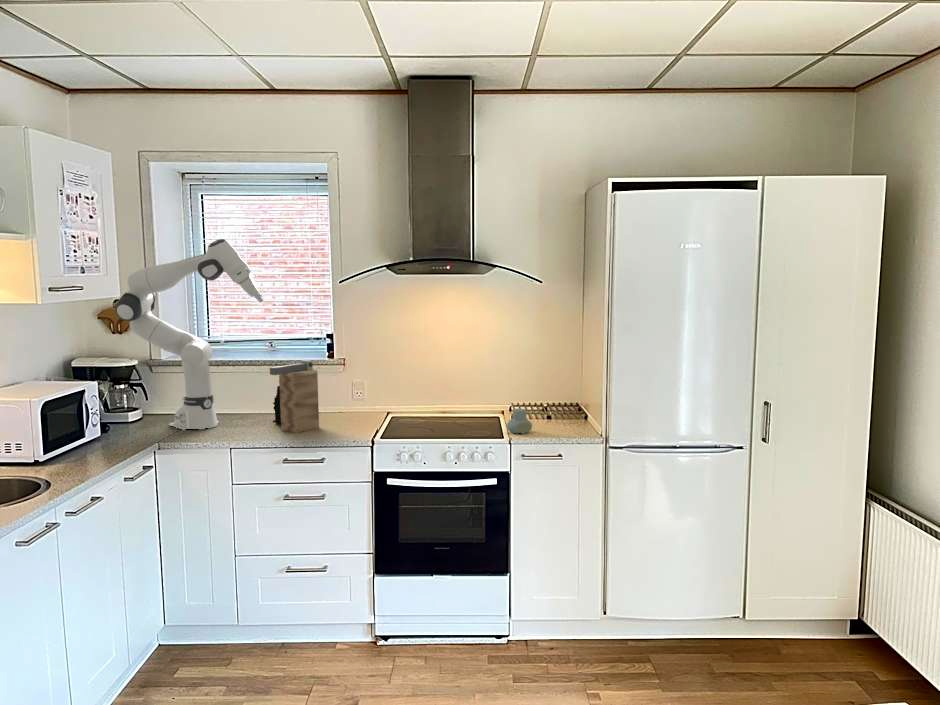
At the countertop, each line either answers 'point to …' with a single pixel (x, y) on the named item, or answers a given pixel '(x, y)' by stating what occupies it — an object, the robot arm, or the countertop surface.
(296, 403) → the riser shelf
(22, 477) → the countertop surface
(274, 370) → the grip stick
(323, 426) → the countertop surface
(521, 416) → the air freshener
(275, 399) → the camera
